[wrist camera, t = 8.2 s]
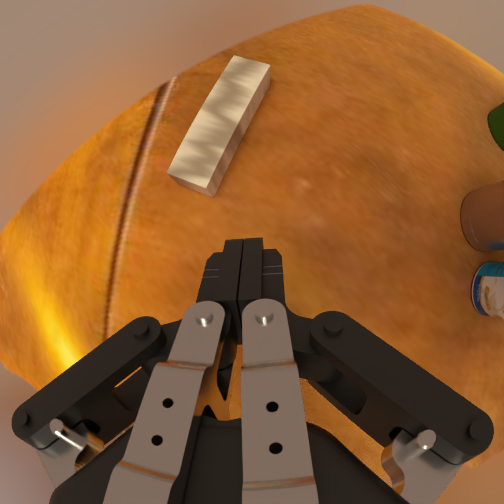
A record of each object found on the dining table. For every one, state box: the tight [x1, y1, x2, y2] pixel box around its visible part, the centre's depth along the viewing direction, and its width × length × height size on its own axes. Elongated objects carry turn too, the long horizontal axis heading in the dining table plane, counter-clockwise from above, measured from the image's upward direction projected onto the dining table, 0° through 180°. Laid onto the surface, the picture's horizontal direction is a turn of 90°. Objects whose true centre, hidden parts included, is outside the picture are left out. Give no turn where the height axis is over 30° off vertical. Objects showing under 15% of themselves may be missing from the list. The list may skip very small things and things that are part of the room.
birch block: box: [167, 56, 270, 198], centre depth 32 cm, size 5×5×18 cm
